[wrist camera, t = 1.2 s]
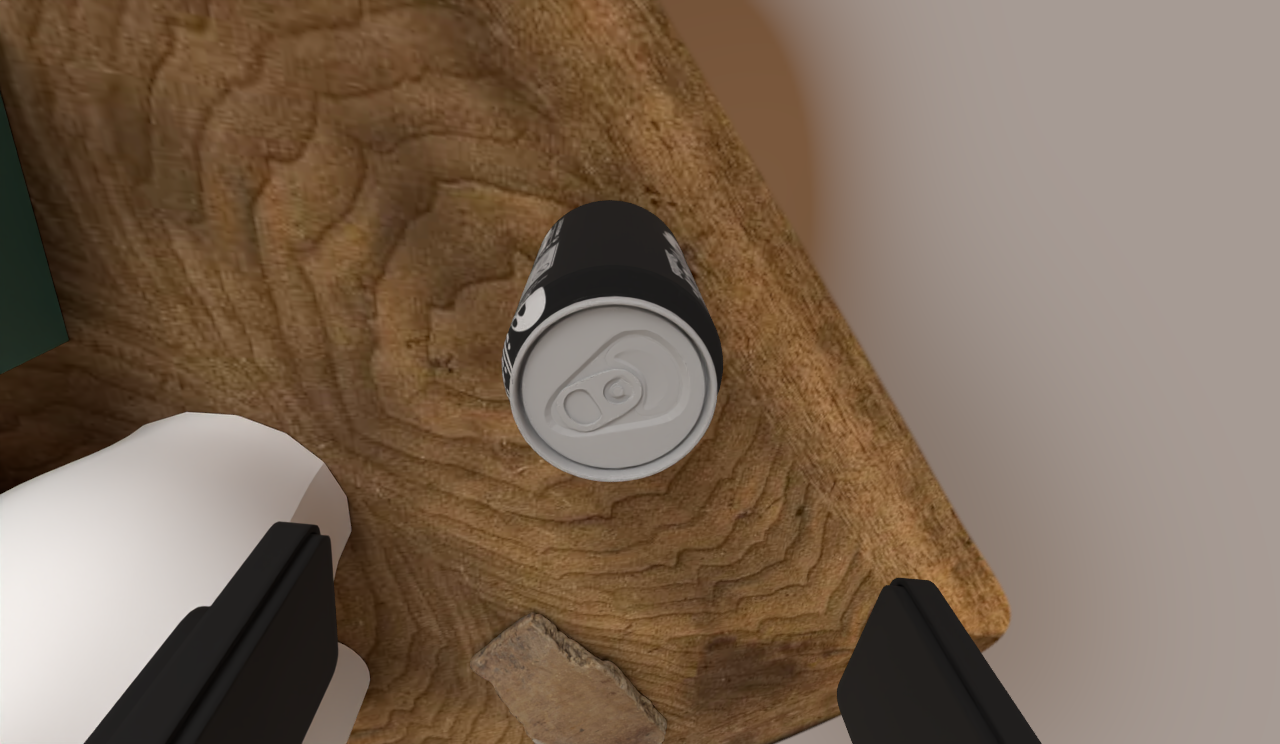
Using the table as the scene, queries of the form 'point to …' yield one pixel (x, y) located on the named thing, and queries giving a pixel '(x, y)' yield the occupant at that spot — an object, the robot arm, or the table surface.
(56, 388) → the table surface
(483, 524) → the table surface
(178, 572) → the vase
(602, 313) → the beverage can
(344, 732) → the cylindrical container
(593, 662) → the pottery shard
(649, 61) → the table surface
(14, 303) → the green l-shaped bookend
